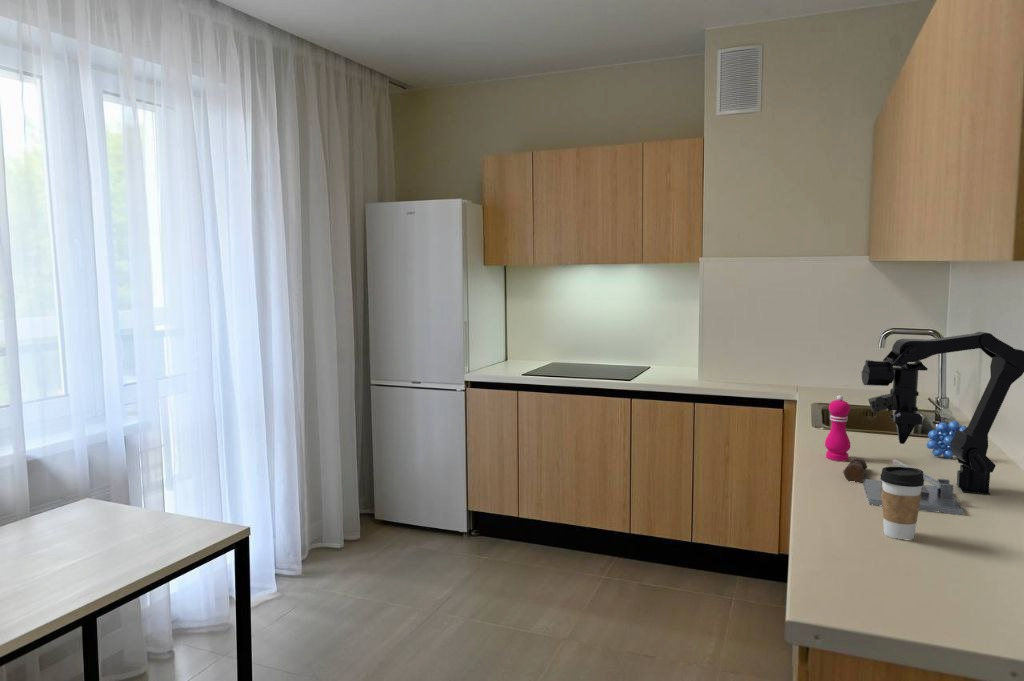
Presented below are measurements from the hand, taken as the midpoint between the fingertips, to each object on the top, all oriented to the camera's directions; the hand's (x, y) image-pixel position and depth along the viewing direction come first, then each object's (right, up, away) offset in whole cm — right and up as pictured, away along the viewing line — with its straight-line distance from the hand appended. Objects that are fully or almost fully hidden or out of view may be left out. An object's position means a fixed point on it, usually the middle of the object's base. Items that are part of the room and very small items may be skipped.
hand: (901, 443), depth 188 cm
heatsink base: (-3, -13, -8) cm, 16 cm away
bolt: (-6, -11, +12) cm, 18 cm away
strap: (0, -7, -9) cm, 12 cm away
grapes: (+31, -9, +31) cm, 45 cm away
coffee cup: (-19, -16, -33) cm, 41 cm away
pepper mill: (-4, -9, +29) cm, 31 cm away
